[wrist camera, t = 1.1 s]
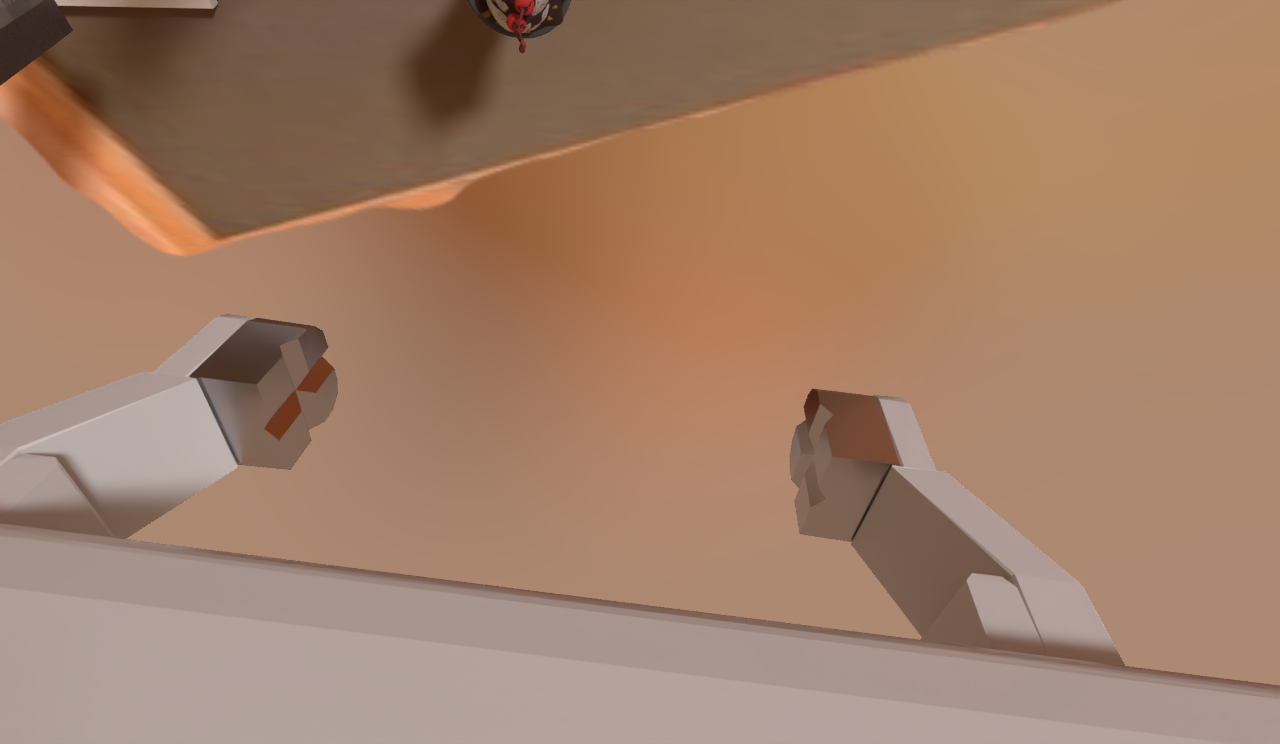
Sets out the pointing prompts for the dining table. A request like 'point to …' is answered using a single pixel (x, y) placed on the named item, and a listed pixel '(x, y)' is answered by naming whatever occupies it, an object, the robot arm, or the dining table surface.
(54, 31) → the shaft
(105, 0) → the base board
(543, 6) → the sundae
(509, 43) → the dining table surface
